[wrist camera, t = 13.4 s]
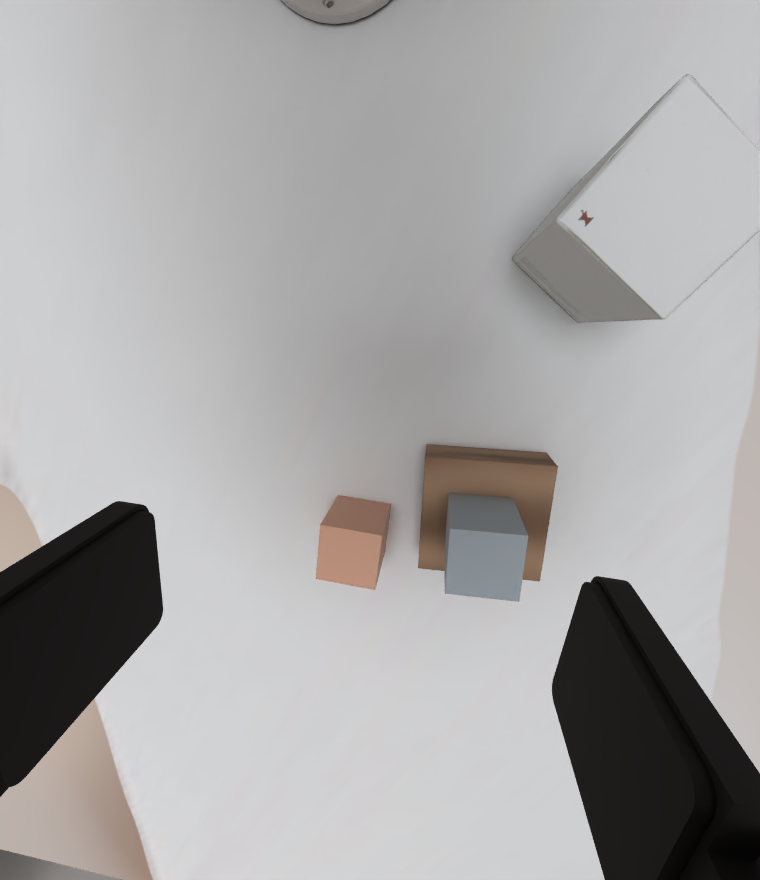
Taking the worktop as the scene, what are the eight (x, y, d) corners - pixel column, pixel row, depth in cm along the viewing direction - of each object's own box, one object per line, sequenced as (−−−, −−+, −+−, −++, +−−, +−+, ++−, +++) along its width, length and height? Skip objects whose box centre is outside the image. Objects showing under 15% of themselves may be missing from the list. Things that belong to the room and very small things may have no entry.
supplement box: (577, 325, 32) (661, 327, 20) (508, 258, 31) (550, 217, 19) (659, 245, 30) (809, 191, 18) (586, 171, 29) (689, 64, 17)
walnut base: (427, 443, 36) (425, 456, 33) (545, 451, 35) (557, 466, 31) (420, 544, 39) (418, 567, 35) (529, 555, 38) (539, 581, 34)
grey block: (448, 493, 33) (450, 528, 27) (513, 498, 32) (528, 535, 27) (444, 548, 34) (444, 593, 29) (506, 554, 34) (519, 601, 28)
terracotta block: (338, 495, 39) (320, 524, 33) (391, 503, 38) (382, 535, 32) (334, 542, 40) (316, 578, 34) (384, 551, 39) (375, 589, 34)
